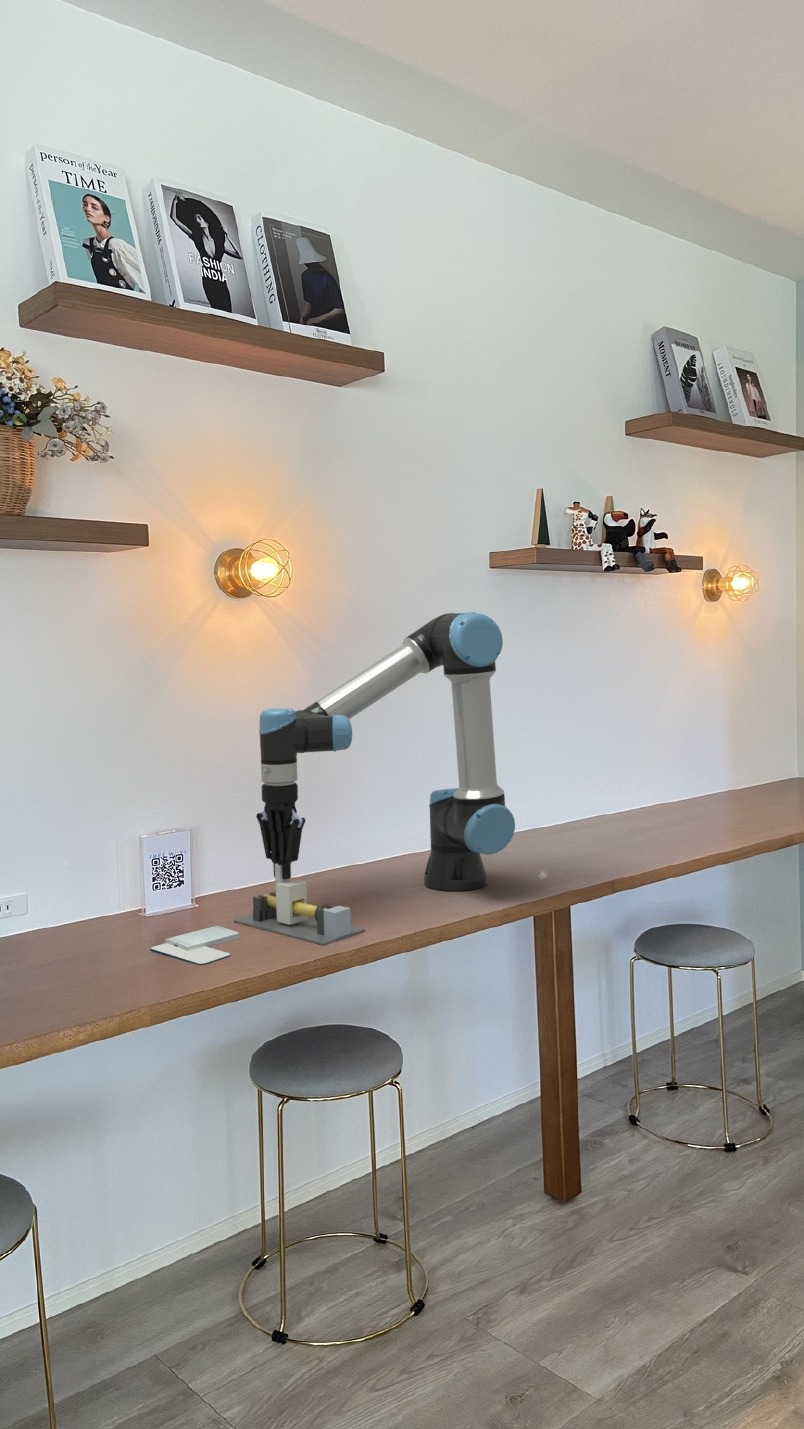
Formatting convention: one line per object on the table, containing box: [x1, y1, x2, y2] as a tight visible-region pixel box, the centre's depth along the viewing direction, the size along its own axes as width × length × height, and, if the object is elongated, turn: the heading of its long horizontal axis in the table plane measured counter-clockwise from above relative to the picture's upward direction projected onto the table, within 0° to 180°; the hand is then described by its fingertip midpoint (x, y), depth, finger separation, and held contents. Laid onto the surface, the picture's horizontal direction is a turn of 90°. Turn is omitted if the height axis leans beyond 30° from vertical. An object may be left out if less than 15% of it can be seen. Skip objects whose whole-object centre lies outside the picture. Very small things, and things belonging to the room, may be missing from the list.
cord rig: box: [233, 890, 366, 946], centre depth 221 cm, size 27×12×6 cm, turn 49°
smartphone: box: [150, 942, 232, 966], centre depth 205 cm, size 8×1×16 cm
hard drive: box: [164, 925, 240, 951], centre depth 213 cm, size 2×8×12 cm
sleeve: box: [275, 878, 308, 925], centre depth 222 cm, size 4×5×8 cm
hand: (282, 893), depth 224 cm, fingers closed
